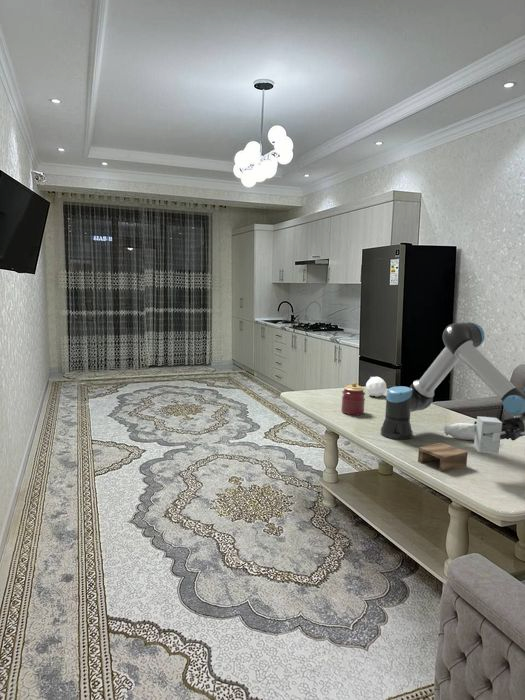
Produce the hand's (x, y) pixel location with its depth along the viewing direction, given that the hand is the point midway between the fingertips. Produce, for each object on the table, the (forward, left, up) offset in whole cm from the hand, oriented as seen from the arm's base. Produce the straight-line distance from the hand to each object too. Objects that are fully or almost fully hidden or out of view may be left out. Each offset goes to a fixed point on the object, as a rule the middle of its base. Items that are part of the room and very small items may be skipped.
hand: (481, 433), depth 185 cm
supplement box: (0, +4, -8) cm, 9 cm away
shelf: (-16, 0, -18) cm, 24 cm away
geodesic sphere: (-121, +61, -18) cm, 137 cm away
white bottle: (-33, +37, -18) cm, 53 cm away
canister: (-95, +19, -18) cm, 99 cm away
